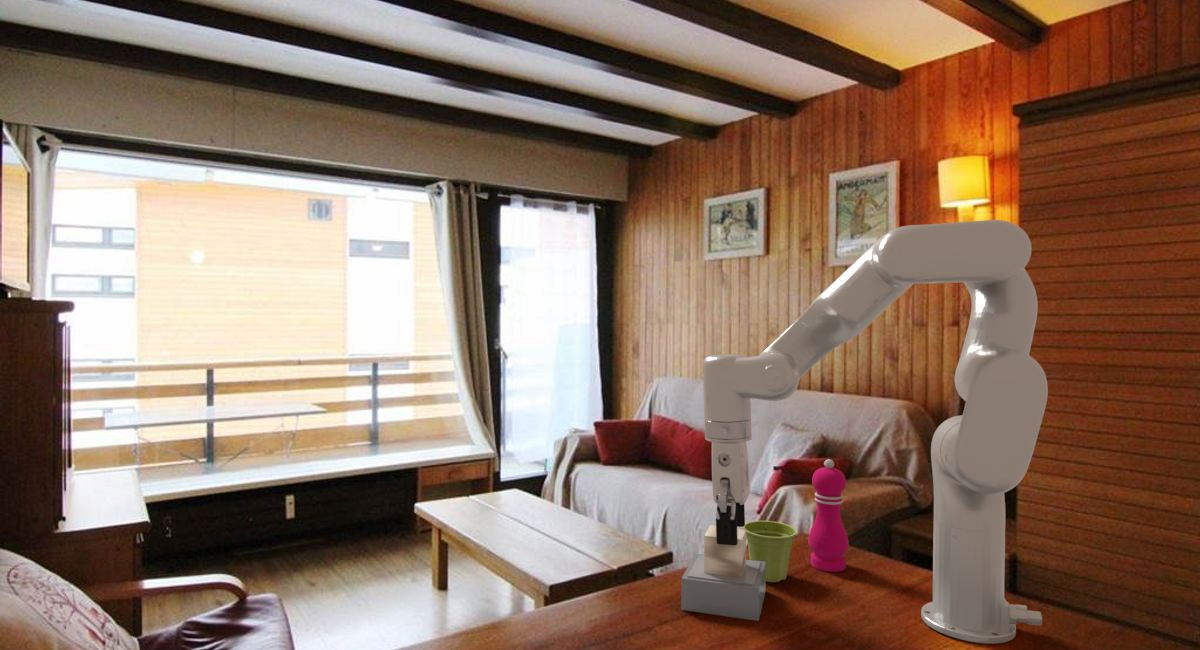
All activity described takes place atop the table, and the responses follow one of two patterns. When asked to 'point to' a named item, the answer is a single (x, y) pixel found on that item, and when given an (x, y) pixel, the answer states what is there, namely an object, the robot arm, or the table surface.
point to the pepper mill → (828, 520)
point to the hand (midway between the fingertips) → (731, 534)
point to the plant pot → (770, 546)
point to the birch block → (724, 554)
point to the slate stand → (724, 590)
